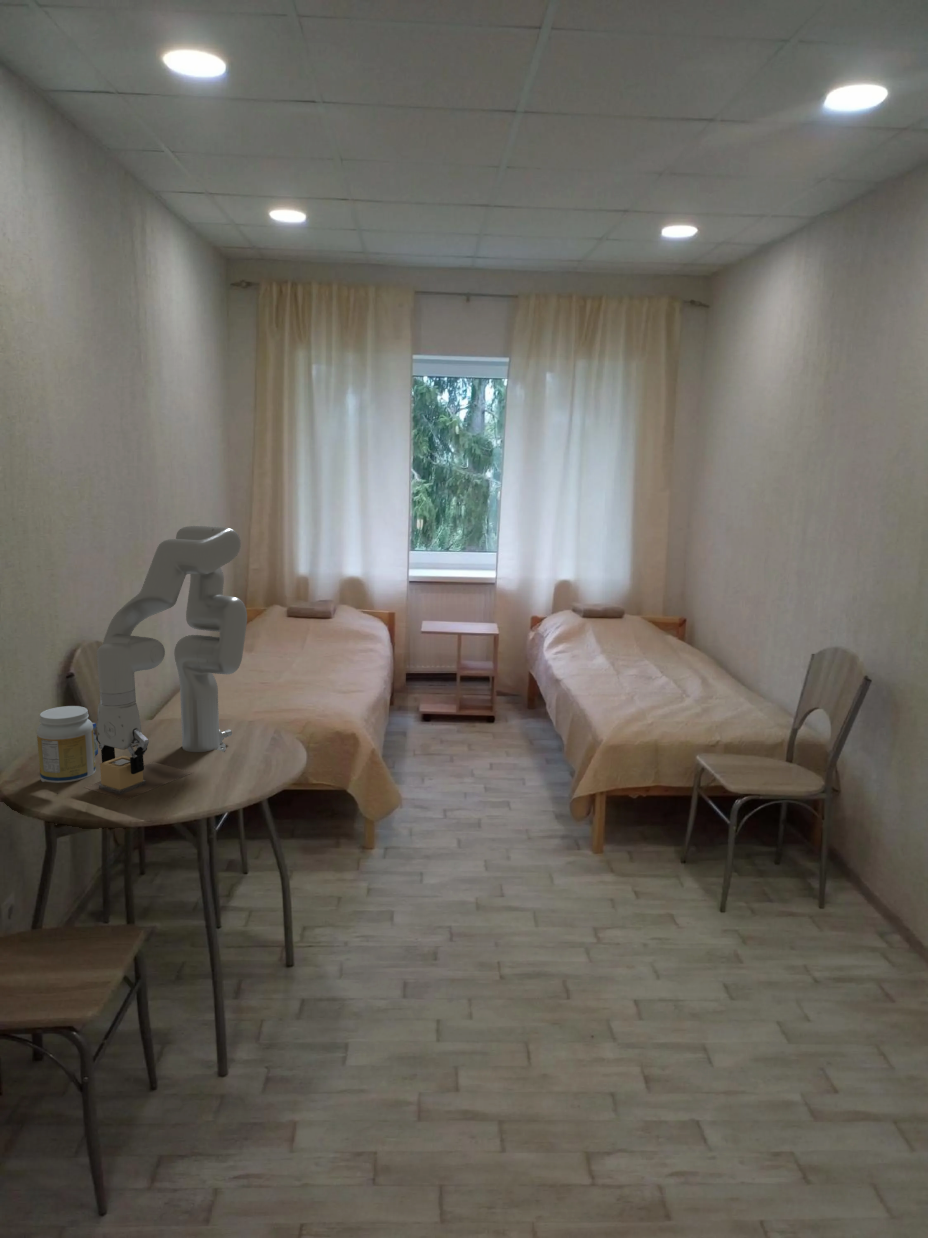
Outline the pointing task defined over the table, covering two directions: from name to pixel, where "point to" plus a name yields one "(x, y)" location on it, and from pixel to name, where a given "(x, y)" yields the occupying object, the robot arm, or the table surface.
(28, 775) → the table surface
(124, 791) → the grey stepped block
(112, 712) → the robot arm
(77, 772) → the supplement tub
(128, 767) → the collar
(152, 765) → the board
